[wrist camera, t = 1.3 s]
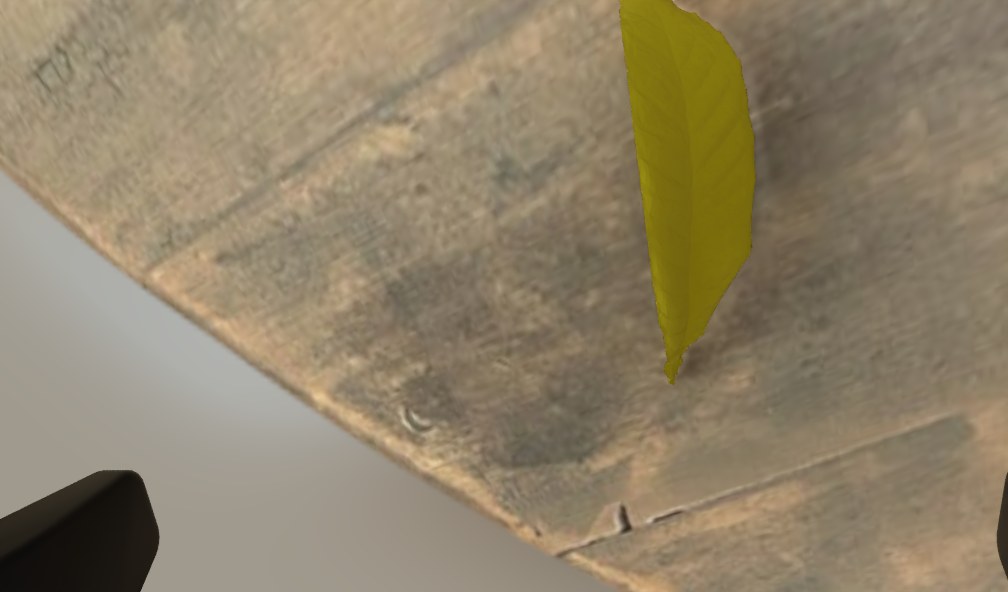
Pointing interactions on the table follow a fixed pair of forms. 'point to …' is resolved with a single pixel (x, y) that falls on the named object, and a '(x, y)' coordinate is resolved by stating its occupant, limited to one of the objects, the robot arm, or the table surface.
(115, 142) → the table surface
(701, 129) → the decorative leaf
